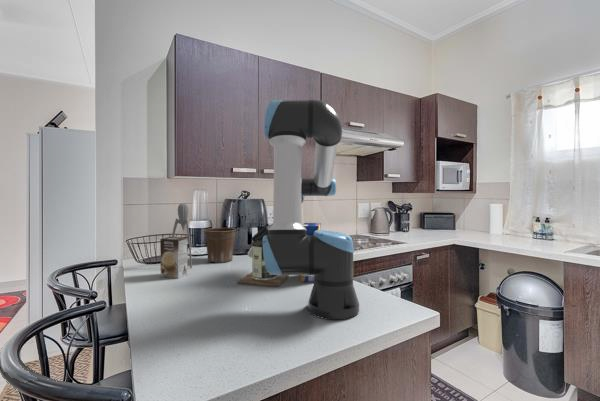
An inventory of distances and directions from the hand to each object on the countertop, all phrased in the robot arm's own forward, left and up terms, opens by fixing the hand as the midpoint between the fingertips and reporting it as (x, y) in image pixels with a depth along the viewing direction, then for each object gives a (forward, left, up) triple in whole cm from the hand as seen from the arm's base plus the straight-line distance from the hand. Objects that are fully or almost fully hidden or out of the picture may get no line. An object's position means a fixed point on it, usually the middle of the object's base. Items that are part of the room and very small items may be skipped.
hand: (262, 258), depth 119 cm
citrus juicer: (+12, +43, -9) cm, 46 cm away
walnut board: (+1, -1, -9) cm, 9 cm away
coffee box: (-3, +38, -9) cm, 40 cm away
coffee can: (+1, -1, -8) cm, 8 cm away
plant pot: (+27, +33, -9) cm, 44 cm away
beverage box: (+7, -19, -9) cm, 22 cm away
